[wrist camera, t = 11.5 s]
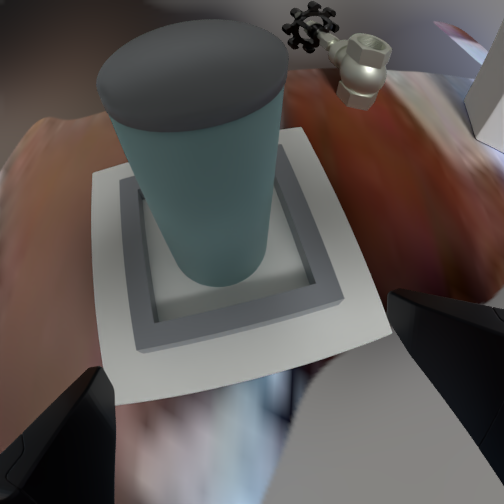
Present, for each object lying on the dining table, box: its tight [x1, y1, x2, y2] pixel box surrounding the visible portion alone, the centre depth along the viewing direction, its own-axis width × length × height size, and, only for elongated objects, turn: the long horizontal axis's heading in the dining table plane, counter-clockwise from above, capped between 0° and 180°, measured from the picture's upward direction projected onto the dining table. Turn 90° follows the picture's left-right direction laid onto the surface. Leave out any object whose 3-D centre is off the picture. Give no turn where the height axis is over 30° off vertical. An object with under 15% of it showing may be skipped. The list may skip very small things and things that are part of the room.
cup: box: [96, 19, 289, 287], centre depth 13 cm, size 6×6×12 cm
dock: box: [91, 127, 392, 405], centre depth 19 cm, size 16×16×2 cm
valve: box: [282, 1, 392, 110], centre depth 25 cm, size 7×7×12 cm
